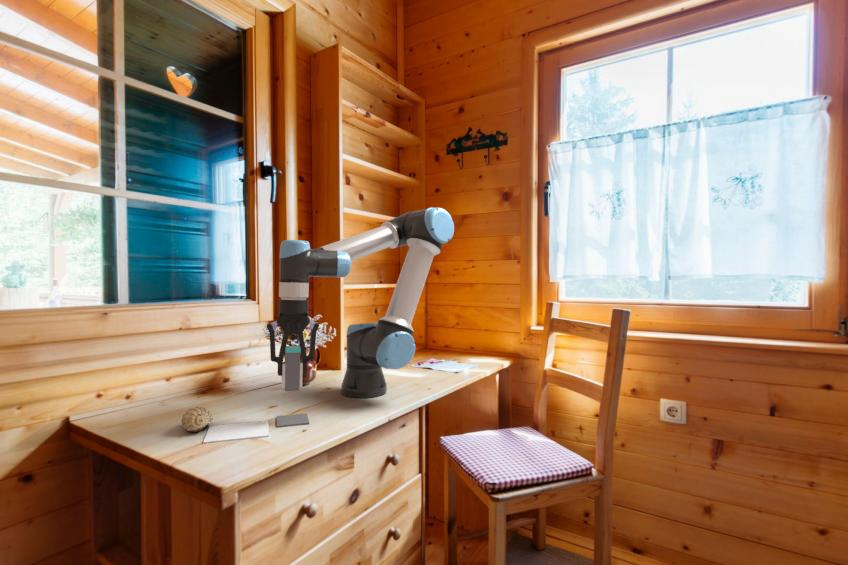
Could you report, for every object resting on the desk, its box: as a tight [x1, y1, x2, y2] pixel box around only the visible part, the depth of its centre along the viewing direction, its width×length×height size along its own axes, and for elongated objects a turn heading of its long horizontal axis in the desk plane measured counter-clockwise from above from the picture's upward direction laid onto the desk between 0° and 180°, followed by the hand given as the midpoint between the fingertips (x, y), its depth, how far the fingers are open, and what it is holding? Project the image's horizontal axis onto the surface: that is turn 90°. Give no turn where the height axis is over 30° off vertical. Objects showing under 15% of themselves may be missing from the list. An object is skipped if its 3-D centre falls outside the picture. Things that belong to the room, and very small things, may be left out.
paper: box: [202, 420, 270, 444], centre depth 106 cm, size 14×11×1 cm
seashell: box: [180, 406, 213, 433], centre depth 108 cm, size 8×6×10 cm
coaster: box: [275, 413, 310, 428], centre depth 115 cm, size 8×8×1 cm
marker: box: [284, 345, 301, 392], centre depth 115 cm, size 4×4×11 cm
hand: (292, 386), depth 115 cm, fingers closed on marker, 4 cm apart
